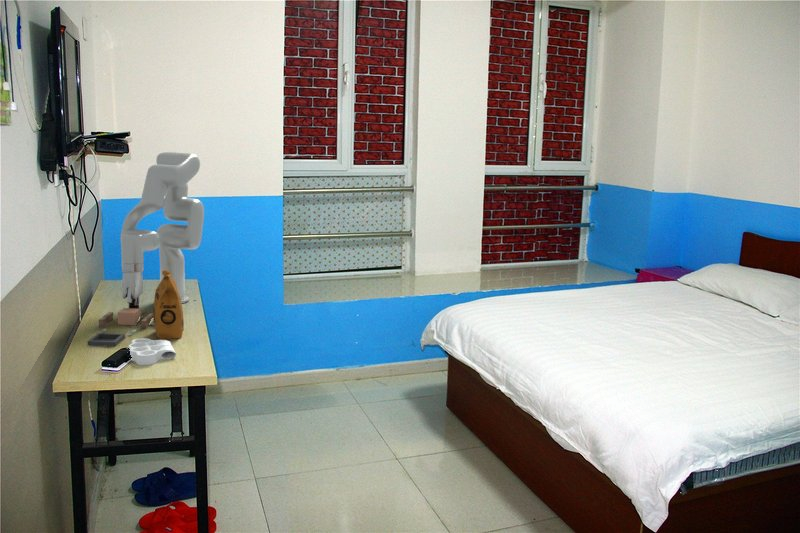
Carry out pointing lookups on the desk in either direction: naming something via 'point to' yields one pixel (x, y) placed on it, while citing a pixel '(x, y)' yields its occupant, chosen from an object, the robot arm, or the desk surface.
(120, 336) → the grey shallow tray
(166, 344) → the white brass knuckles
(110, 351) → the desk surface
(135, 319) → the push block
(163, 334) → the coffee package
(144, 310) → the desk surface
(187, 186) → the robot arm
